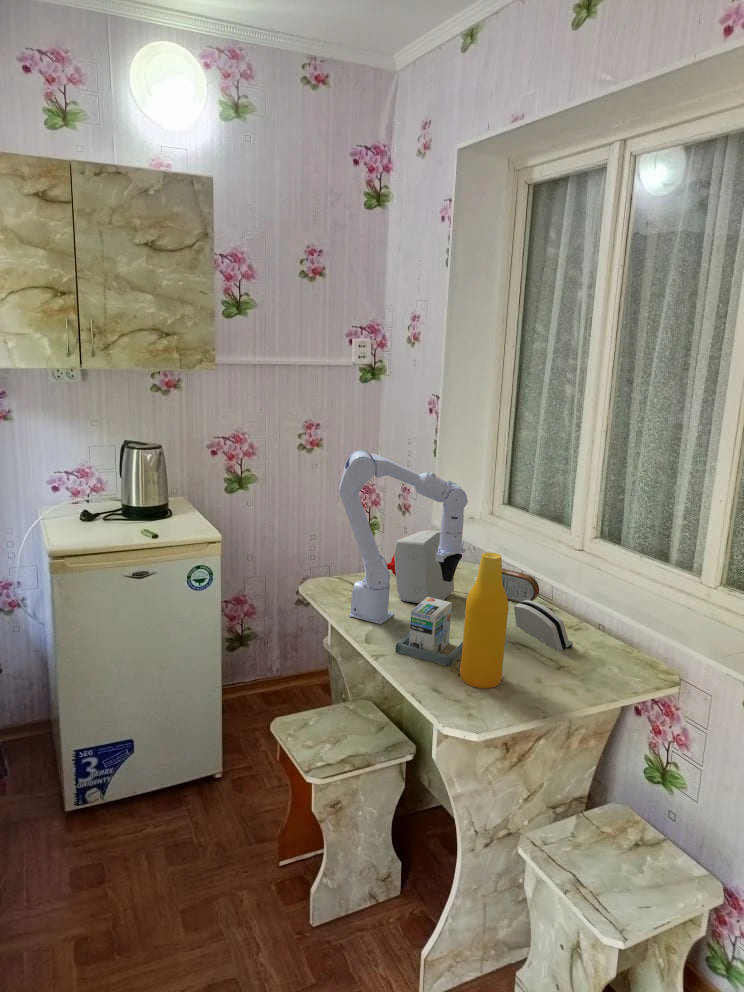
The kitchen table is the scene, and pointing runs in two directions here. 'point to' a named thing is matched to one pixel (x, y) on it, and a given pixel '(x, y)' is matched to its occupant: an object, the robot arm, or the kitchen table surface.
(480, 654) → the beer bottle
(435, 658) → the bay
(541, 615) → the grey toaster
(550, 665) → the kitchen table surface
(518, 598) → the tin
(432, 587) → the electrical switch box
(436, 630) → the light bulb box
